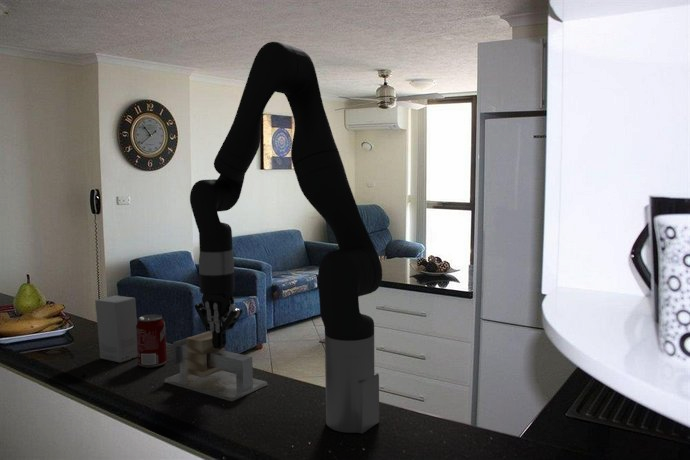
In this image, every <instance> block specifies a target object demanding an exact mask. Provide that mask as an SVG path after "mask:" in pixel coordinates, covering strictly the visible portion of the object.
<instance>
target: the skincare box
mask: <svg viewBox="0 0 690 460" xmlns="http://www.w3.org/2000/svg"><path fill="white" fill-rule="evenodd" d="M94 302H95V312H96V321H97V334H98V335H97V336H98V345H99V356H100V359H102V360H107V361H110V362H111V361H112V362H115V363H116V362H117V363H123V362H127V361H130V360H132V358H133V359H135V358H138V352H137V331H136V325H137V323H138V317H137V305H136V297H131V296H130V297H129V296H122V295H116V294H115V295H112V296H107V297H105V298H104V297H103V298H100V299H96V300H94Z"/></svg>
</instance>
